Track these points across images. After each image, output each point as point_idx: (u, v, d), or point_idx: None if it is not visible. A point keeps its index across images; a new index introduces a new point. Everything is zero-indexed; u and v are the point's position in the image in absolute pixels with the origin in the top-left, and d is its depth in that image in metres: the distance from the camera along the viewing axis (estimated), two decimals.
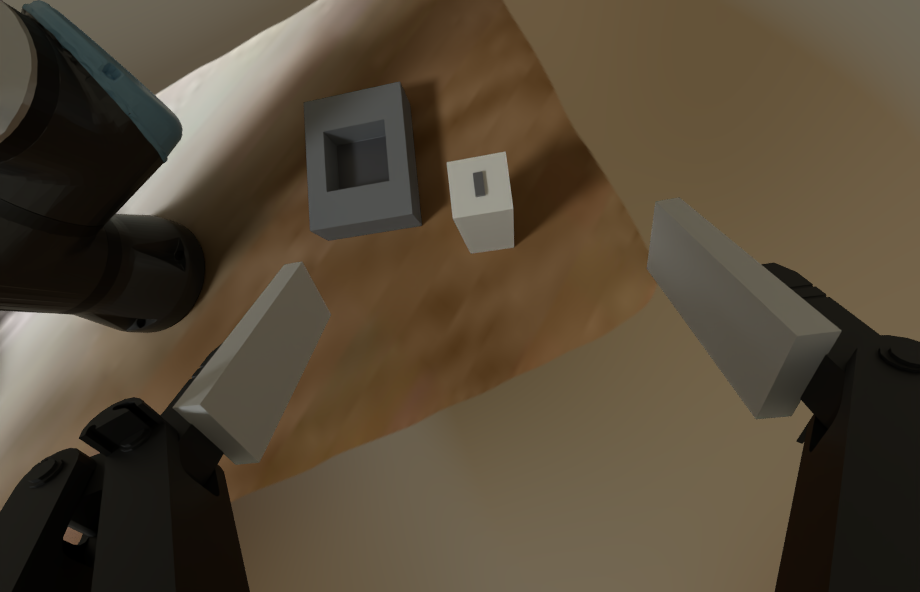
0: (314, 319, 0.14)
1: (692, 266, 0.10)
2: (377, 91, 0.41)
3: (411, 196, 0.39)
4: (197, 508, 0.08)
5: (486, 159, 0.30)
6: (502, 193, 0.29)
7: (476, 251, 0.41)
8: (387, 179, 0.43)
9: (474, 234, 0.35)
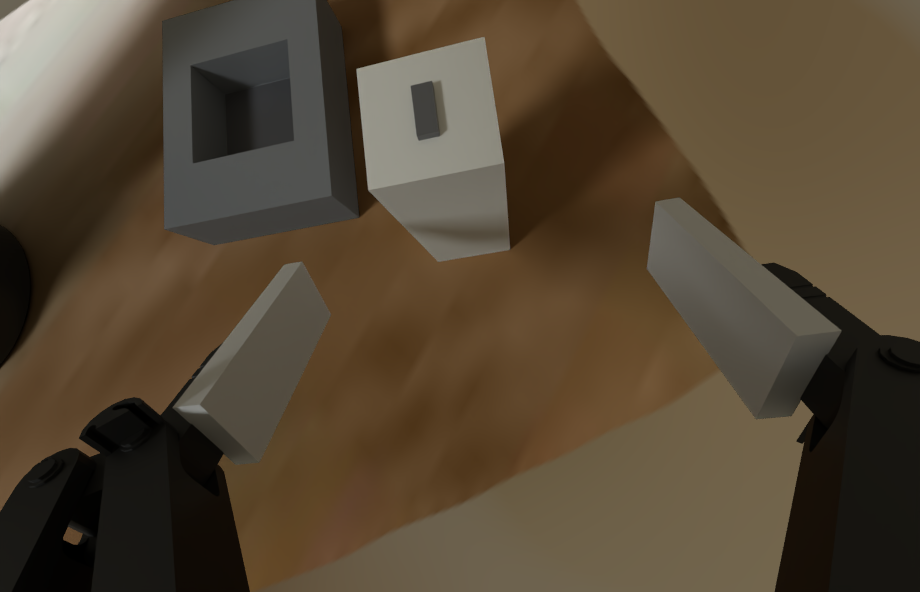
0: (314, 319, 0.14)
1: (692, 266, 0.10)
2: None
3: (331, 166, 0.23)
4: (197, 508, 0.08)
5: (443, 55, 0.13)
6: (478, 129, 0.13)
7: (447, 258, 0.24)
8: None
9: (432, 228, 0.18)
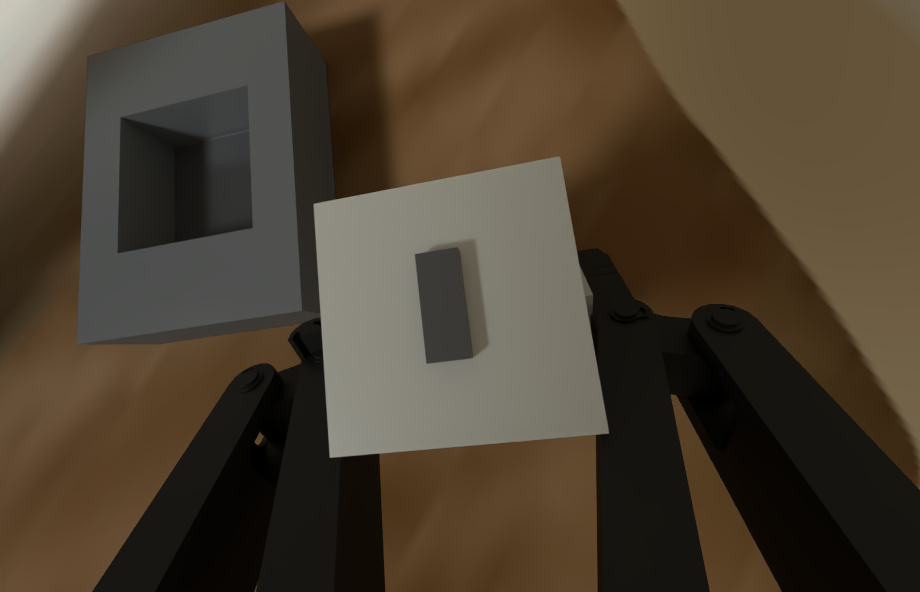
0: None
1: None
2: (235, 24, 0.19)
3: (303, 265, 0.17)
4: None
5: (478, 190, 0.07)
6: (551, 352, 0.06)
7: None
8: None
9: None
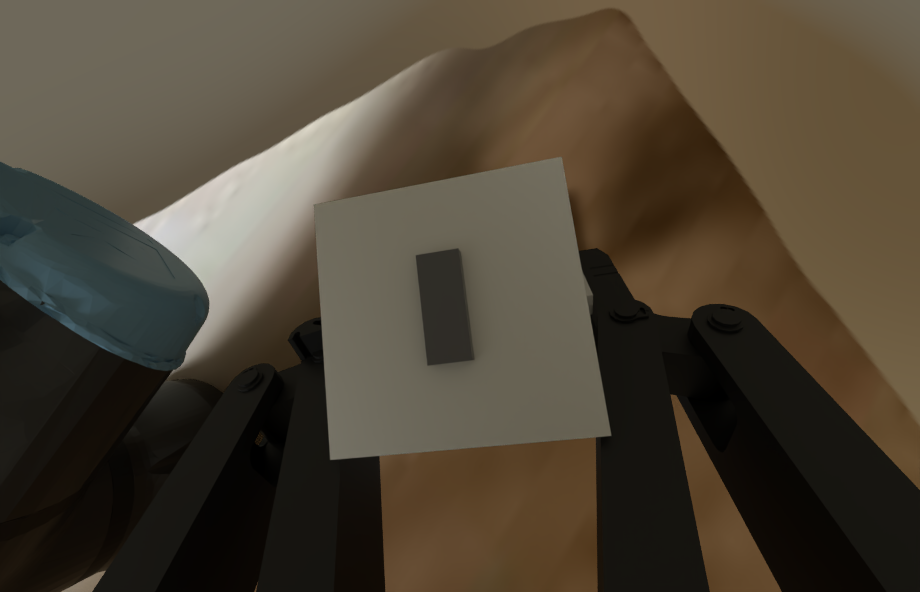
0: None
1: None
2: None
3: None
4: None
5: (479, 190, 0.07)
6: (553, 354, 0.06)
7: None
8: None
9: None
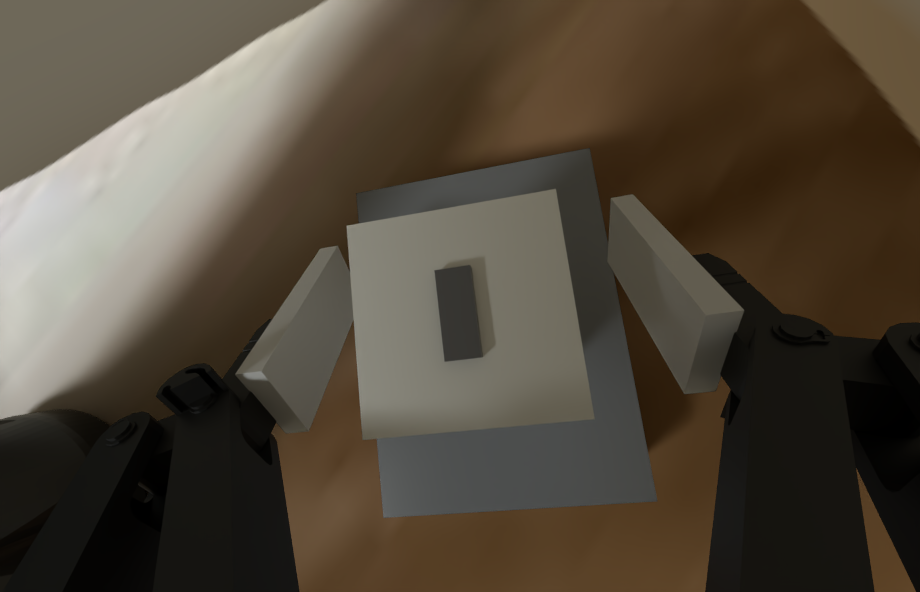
0: (348, 301, 0.15)
1: (637, 257, 0.11)
2: (532, 170, 0.18)
3: None
4: (253, 476, 0.08)
5: (487, 216, 0.08)
6: (548, 353, 0.08)
7: None
8: None
9: None
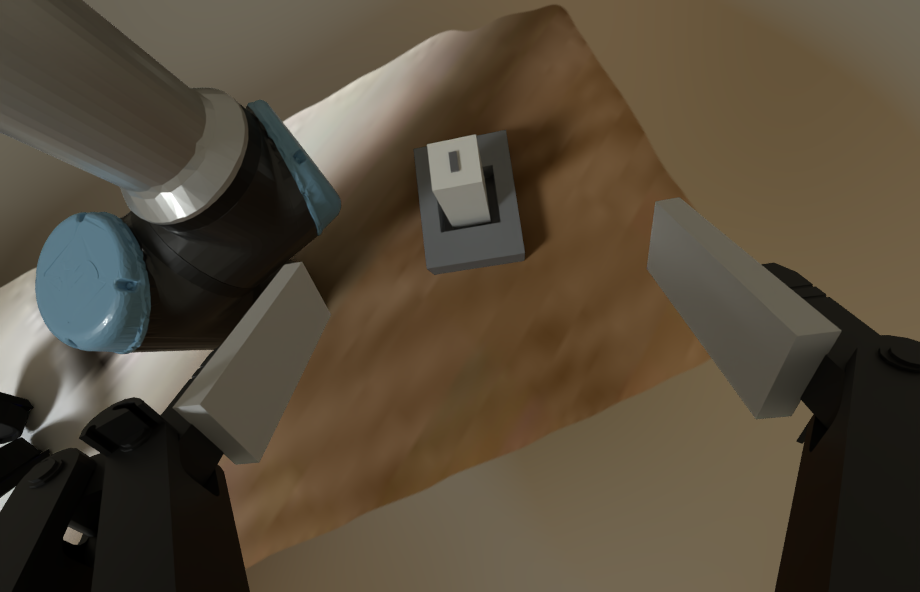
0: (314, 319, 0.14)
1: (692, 266, 0.10)
2: (484, 138, 0.45)
3: None
4: (197, 508, 0.08)
5: (460, 140, 0.36)
6: (473, 169, 0.35)
7: (458, 226, 0.47)
8: (491, 218, 0.47)
9: (453, 208, 0.40)
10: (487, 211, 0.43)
